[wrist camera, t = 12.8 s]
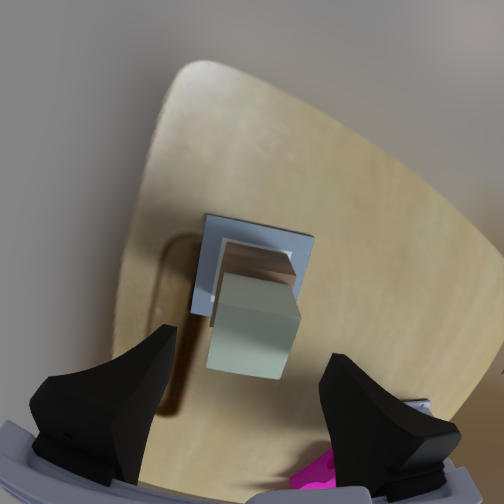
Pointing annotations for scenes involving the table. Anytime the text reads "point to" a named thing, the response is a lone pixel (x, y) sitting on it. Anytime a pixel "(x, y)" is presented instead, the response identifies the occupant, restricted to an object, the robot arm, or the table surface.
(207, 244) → the pad
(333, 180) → the table surface
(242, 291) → the sage cube
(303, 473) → the toy block
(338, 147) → the table surface
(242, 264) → the walnut cube
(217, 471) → the table surface
